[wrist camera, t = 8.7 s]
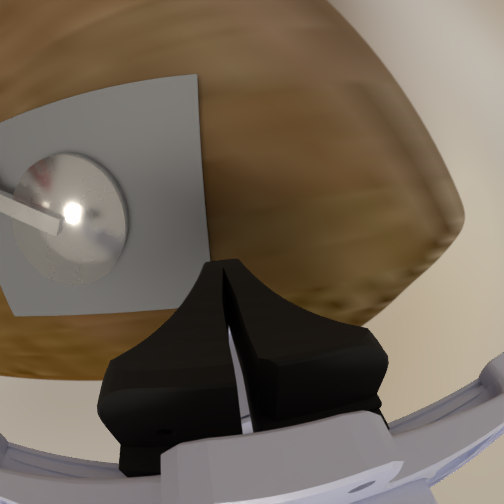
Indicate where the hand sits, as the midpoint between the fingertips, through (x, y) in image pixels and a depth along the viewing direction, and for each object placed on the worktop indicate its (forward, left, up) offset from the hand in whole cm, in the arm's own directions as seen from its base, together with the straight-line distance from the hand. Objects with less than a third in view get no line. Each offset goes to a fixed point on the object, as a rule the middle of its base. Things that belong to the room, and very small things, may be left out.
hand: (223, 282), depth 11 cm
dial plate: (+1, +10, -9) cm, 14 cm away
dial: (+2, +12, -8) cm, 14 cm away
